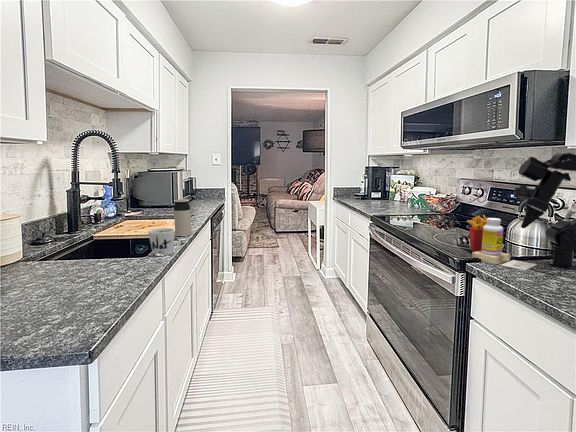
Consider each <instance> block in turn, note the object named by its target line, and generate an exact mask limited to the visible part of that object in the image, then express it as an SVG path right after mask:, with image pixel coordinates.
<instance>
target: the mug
mask: <svg viewBox="0 0 576 432" xmlns="http://www.w3.org/2000/svg"><path fill="white" fill-rule="evenodd" d="M147 234H148V237H149V238H148V239H149V243H150V247H151V250H152V253H153V252H154V253H170V252H173V253H174V244H175V228H156V229H155V228H154V229H150V230H148V231H147Z"/></svg>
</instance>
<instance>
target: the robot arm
mask: <svg viewBox="0 0 576 432" xmlns="http://www.w3.org/2000/svg"><path fill="white" fill-rule="evenodd" d="M550 169H553V171H552V170H550ZM561 171H569V172H570V171H576V154H574V153H571V152H557V153H555V154H553V155H552V156H551V158H550V159H548V160H545V161H542V160H539V159H537V158H536V157H534V156H529V157H528V158H527V160H526V161H524V162H523V163H522V164H520V167H519V169H518V174H519V175H520V176H522V177H525V178H526V179H529V180H531V181H533V182H537V181H539V183H538V184H537V186H535V187H534V189H533V188H528V187H527V185H526V184H521V185H519V187H514V192H513V198H515V199H518V198H521V199H527V201H526V202H525V204H524V206H523V210H524V212H525V214H524V217H523V219H522V223H521V225H520V228H521V229H523V230H524V229H526V228H528V227H529V226H530V225H531V224H532V223H534V222H535V221H536V220H538V219H539V218H540V217H541V216H543V215H544V214H545V213H546V212H547V211H548V210H549V207H550V206H549V205H550V202H551V200H552V199H553V197H554V196H555V194H556V193H557V190H558V189H559V188H560V185H561V184H562V182H563V181H565V182H571V181H572V178H571V177H570V173H569V172H564V173H563V172H561ZM545 238H546V239H547V240H548V242H549V243H550V246H553V247H554V248H553V254H552V255H553V258H552V261H551V262H547V264H548V265H550V266H554V267H555V266H556V267H560V268H564V269H570V268H574V267H576V263H574V253H575V252H576V217H575V218H574V219H572V220H569V221H568V220H564V219H559V220H558V221H555V223H553V224H550V225H549V227H548V228H547V229H546V233H545Z"/></svg>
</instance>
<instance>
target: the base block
mask: <svg viewBox="0 0 576 432" xmlns="http://www.w3.org/2000/svg"><path fill="white" fill-rule="evenodd" d="M471 253H472V254H471V258H472V257H476V258H479V259H481V261H480V262H483V263H487V264H491V265H498V264H504V263H507V262H509V261H511V254H510V253H506V252H502V253H501V254H499V255H489V254H484V253H483V252H482V251H477V252H471Z"/></svg>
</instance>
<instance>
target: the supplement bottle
mask: <svg viewBox="0 0 576 432" xmlns="http://www.w3.org/2000/svg"><path fill="white" fill-rule="evenodd" d="M486 219H487V221H486V222H487V225H485V226H484V227H483V238H482V252H483V253H484V254H489V255H499V254H501V253H503V242H504V241H503V239H504V238H503V237H504V227H503V226H502V225H501V222H502V219H500V218H498V217H497V218H496V217H486Z"/></svg>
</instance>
